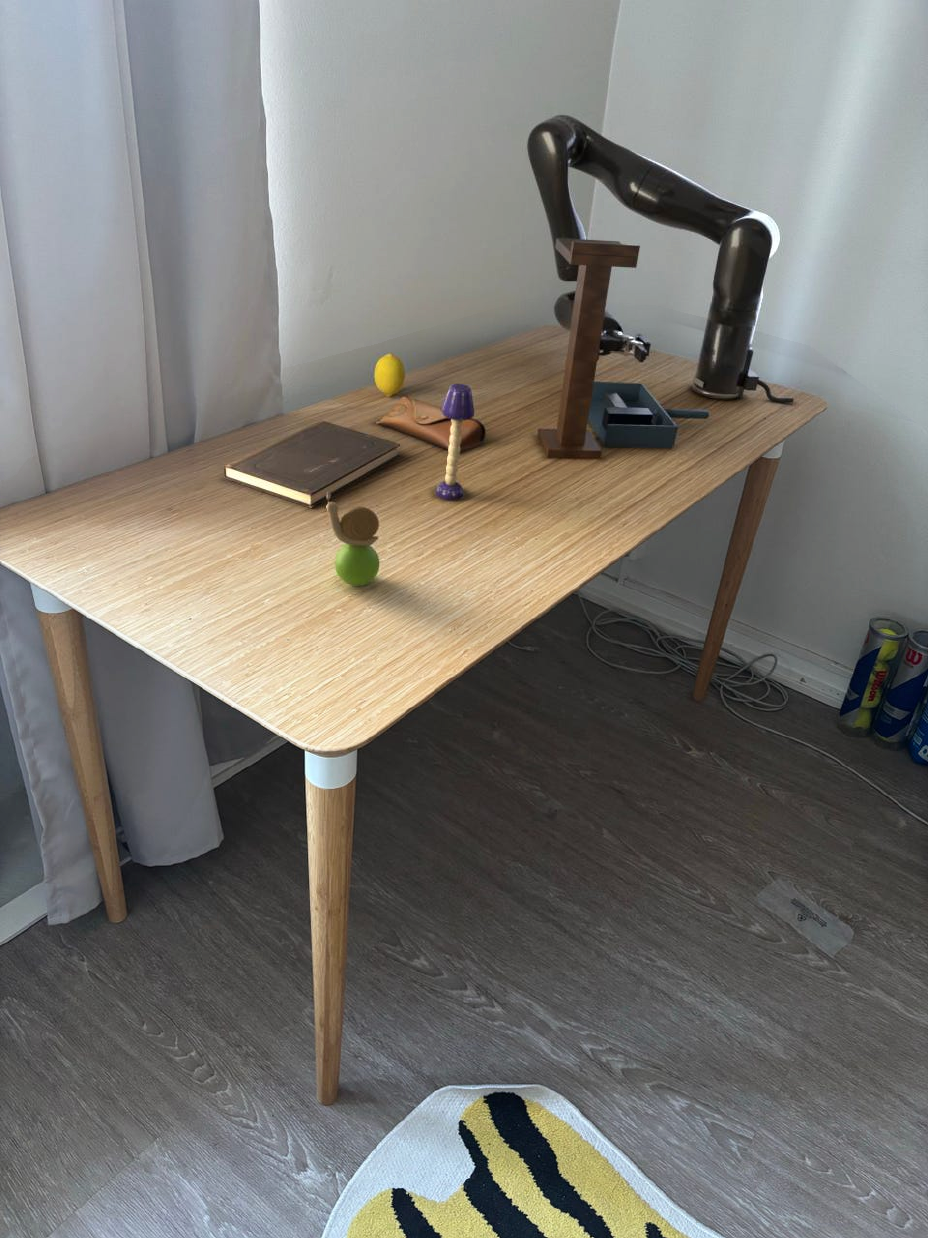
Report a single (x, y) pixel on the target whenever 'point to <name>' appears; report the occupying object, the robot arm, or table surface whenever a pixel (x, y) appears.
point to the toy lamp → (455, 437)
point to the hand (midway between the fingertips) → (620, 356)
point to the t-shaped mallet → (623, 412)
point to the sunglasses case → (430, 424)
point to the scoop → (637, 434)
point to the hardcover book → (313, 463)
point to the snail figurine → (355, 543)
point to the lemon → (389, 374)
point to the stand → (584, 343)
